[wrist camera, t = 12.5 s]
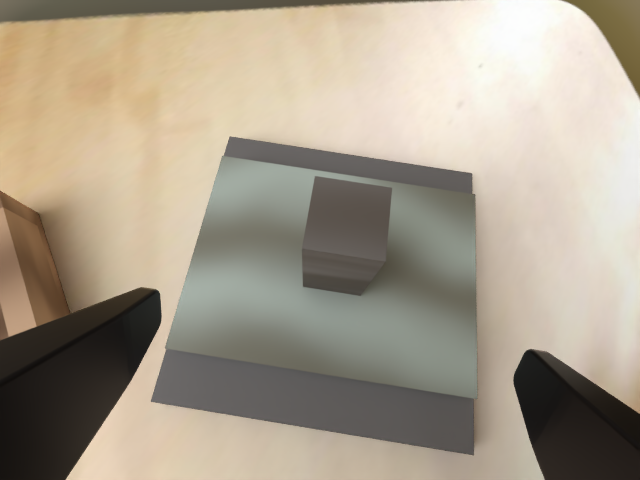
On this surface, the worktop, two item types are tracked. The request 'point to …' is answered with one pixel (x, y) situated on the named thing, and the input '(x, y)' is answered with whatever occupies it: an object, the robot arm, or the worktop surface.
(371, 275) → the lid
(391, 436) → the rubber mat
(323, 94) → the worktop surface
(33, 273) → the brown wooden flat frame
